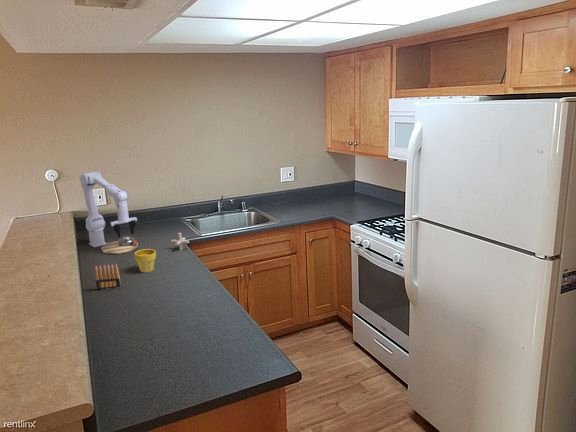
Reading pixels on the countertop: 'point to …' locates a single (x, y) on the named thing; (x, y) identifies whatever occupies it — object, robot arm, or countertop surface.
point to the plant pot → (145, 259)
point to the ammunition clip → (107, 277)
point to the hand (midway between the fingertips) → (125, 235)
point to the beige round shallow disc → (118, 248)
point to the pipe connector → (180, 241)
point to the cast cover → (126, 241)
